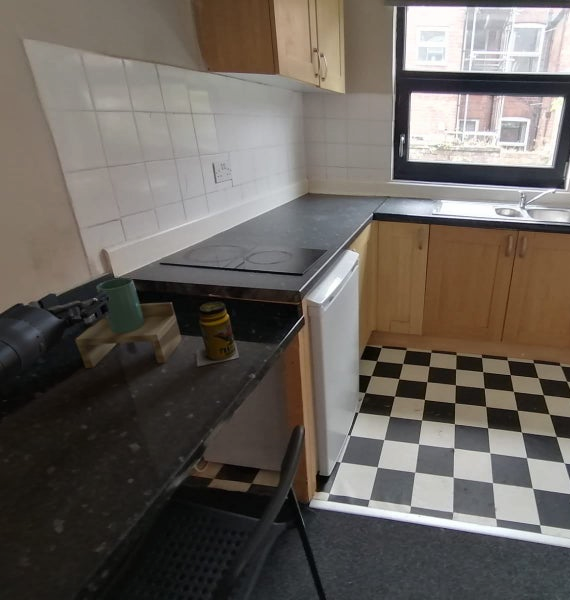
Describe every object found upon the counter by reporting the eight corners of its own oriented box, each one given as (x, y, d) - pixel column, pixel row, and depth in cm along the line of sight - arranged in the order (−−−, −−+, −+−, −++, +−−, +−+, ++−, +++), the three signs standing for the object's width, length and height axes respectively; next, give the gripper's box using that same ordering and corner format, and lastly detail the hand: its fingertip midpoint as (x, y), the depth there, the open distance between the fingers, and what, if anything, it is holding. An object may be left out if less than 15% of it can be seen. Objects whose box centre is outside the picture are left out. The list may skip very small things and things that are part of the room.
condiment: (239, 358, 89) (229, 309, 84) (197, 367, 86) (184, 317, 81) (235, 343, 95) (226, 296, 90) (196, 351, 92) (184, 303, 87)
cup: (103, 330, 86) (88, 287, 82) (130, 317, 92) (117, 276, 88) (126, 334, 84) (112, 291, 80) (151, 321, 90) (140, 280, 86)
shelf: (85, 368, 86) (69, 326, 81) (110, 344, 95) (97, 305, 90) (165, 362, 87) (153, 321, 83) (181, 339, 96) (172, 302, 92)
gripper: (59, 316, 58) (116, 276, 73) (-52, 322, 56) (29, 279, 71) (76, 360, 61) (128, 313, 76) (-28, 367, 59) (45, 317, 74)
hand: (80, 297), depth 73 cm, fingers open, 8 cm apart
